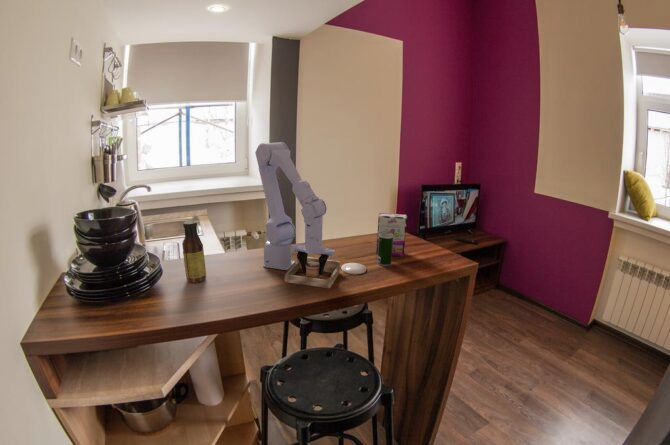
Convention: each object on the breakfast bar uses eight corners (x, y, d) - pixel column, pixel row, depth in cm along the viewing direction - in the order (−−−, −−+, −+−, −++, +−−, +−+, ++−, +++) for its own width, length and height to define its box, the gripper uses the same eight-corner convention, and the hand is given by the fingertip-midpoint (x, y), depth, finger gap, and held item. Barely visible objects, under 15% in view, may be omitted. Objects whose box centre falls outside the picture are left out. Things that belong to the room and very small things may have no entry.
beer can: (383, 267, 136) (385, 236, 133) (374, 262, 141) (376, 232, 137) (394, 264, 139) (396, 234, 136) (384, 259, 144) (387, 230, 140)
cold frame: (284, 281, 122) (284, 269, 121) (297, 267, 134) (297, 255, 133) (329, 288, 119) (330, 275, 118) (339, 272, 131) (339, 261, 129)
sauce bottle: (210, 278, 123) (206, 221, 117) (196, 285, 118) (191, 226, 112) (195, 274, 126) (191, 218, 120) (181, 281, 120) (175, 223, 115)
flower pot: (303, 279, 125) (303, 266, 123) (308, 273, 129) (308, 260, 128) (317, 281, 123) (318, 268, 122) (322, 275, 128) (322, 262, 127)
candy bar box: (403, 252, 152) (407, 214, 147) (403, 257, 147) (407, 217, 142) (376, 250, 153) (379, 212, 148) (375, 254, 149) (378, 215, 144)
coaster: (338, 272, 131) (338, 270, 131) (344, 262, 139) (344, 261, 139) (363, 275, 129) (363, 274, 129) (367, 266, 137) (367, 264, 137)
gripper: (288, 237, 120) (288, 275, 124) (331, 242, 117) (330, 281, 121) (296, 230, 127) (296, 267, 131) (337, 235, 123) (335, 272, 127)
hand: (312, 273), depth 126 cm, fingers closed on flower pot, 5 cm apart
